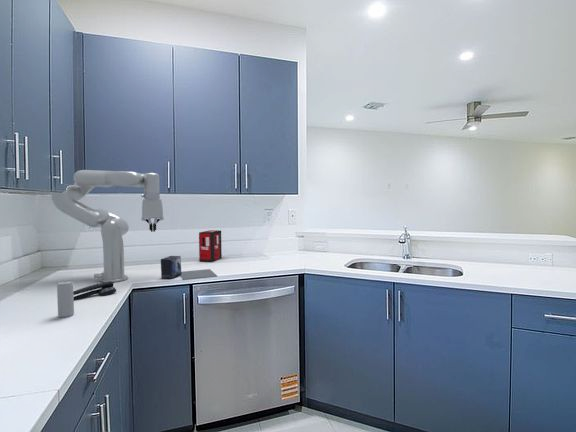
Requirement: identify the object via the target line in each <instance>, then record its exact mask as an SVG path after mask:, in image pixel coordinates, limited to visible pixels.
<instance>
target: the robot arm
mask: <svg viewBox="0 0 576 432" xmlns="http://www.w3.org/2000/svg"><path fill="white" fill-rule="evenodd" d="M73 181H74V183H73V184H74V185H72V184H68V185H69V186H67V188H66V191H65V192H62V193H52V192H51V195H50V196H51V197H50V198H51V201H52V203H53V205H54V207H56V209H58V210H59V211H60V212H61V213H63V214H65V215H67V216H69V217H71V218H72V219H75V220H76V221H78V222H80V223H82V224H84V225H86V226H87V227H89V228H95V229H96V228H100V234H101V242H102V253H103V254H102V255H103V257H102V258H103V259H102V260H103V272H100V273H93V277H94V278H95V279H96V278H100V283H104V282H109V281H111V282H113V283H117V282H123V281H125V280H128V278H129V277H128V275H126V274H125V249H124V246H125V245H124V240H123V239H124V238H123V236H125V235H126V234H127V233H128V231H129V227H130V226H129V223H128V222H127V221H126V220H124V219H123V218H121V217H119V216H117V215H116V214H114V213H112V212H110V211H108V210H105V209H103V208H102V209H100V208H97V209H96V208H92V207H90V206H88V205H86V204H84V203H82V202H81V201H79V200H81V199H83V198H84V197H85V196H86V195H88V193H90V192H91V191H92V190H93V189H94V188H111V187H133V188H143V194H141V195H140V197H141V198H144V199H142V205H141V221H144V222H146V223H147V224H149V225H148V226H149V231H150V233H153V232H154V233H155V232H156V231H157V224H158V223H159V222H160V221H163V220H165V219H164V210H163V202H162V199H161V197H160V193H161V192H160V191H161V190H160V174H158V173H156V172H146V173H142V172H141V173H140V172H138V171H137V172H136V171H127V170H126V171H124V170H122V171H121V170H97V169H96V170H94V169H93V170H92V169H82V170H81V169H80V170H77V171H75V173H74V174H73ZM152 219H153V222H152Z"/></svg>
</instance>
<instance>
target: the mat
mask: <svg viewBox="0 0 576 432" xmlns="http://www.w3.org/2000/svg"><path fill="white" fill-rule="evenodd" d="M179 276H180V277H181V279H182V281H184V280H185V281H186V280H195V279H204V278H205V279H207V278H216V277H218V275H217V274H216V273H215V272H214V271H213V270H211V268H209V269H207V268H206V269H195V270H186V271H185V270H183V271H181V275H179Z"/></svg>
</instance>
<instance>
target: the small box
mask: <svg viewBox="0 0 576 432" xmlns="http://www.w3.org/2000/svg"><path fill="white" fill-rule="evenodd" d="M160 271H161V272H160V274H161V275H160V277H161V279H170V280H172V279H174V278H176V277H179V276H180V275H181V272H182V258H181V255H169V256H166V257H163V258H160Z"/></svg>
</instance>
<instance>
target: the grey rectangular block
mask: <svg viewBox="0 0 576 432" xmlns="http://www.w3.org/2000/svg"><path fill="white" fill-rule="evenodd" d="M73 291H74V283H73V281H71V280H70V281H69V280H67V281H60V282H58V283H57V285H56V297H57V298H56V299H57V316H58V318H70V317H72V316H73V315H74V314H75V303H74V301H75V300H74V296H75V295H73Z"/></svg>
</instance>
